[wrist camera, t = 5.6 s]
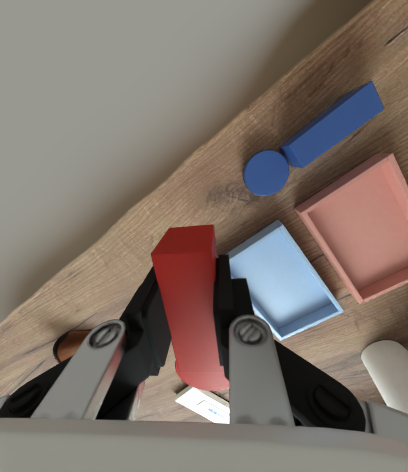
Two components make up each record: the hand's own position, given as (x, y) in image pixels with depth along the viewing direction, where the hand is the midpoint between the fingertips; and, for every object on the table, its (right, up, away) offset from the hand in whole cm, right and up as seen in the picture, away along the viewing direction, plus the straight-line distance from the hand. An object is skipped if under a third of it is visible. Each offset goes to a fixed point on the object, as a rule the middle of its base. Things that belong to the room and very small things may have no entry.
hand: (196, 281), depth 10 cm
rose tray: (+18, +3, +12) cm, 22 cm away
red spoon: (0, -2, +2) cm, 3 cm away
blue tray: (+10, -3, +15) cm, 18 cm away
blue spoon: (+9, +11, +9) cm, 17 cm away
